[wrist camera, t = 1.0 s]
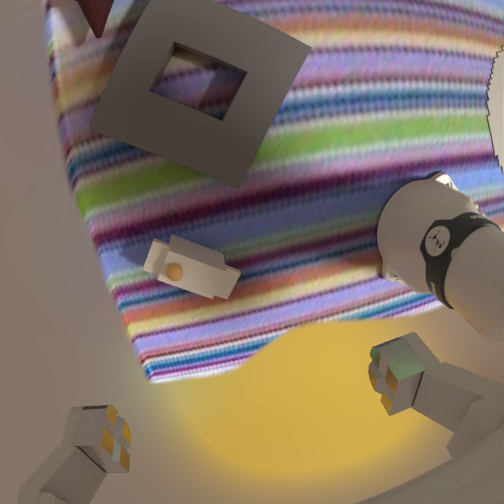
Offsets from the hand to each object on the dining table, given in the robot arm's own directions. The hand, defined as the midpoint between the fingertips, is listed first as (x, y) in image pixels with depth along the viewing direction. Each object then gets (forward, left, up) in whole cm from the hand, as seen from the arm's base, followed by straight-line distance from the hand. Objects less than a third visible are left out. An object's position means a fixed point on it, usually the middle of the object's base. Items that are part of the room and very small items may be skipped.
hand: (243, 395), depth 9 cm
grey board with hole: (+6, -9, -32) cm, 33 cm away
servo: (-2, +11, -32) cm, 33 cm away
